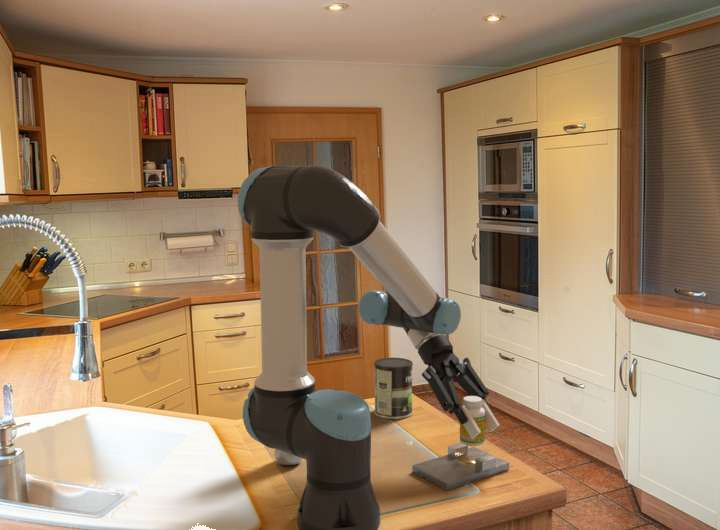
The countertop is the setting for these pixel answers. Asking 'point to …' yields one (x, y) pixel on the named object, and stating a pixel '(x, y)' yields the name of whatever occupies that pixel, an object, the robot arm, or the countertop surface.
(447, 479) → the hinge plate
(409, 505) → the countertop surface
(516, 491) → the countertop surface
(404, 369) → the coffee can
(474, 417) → the supplement bottle
